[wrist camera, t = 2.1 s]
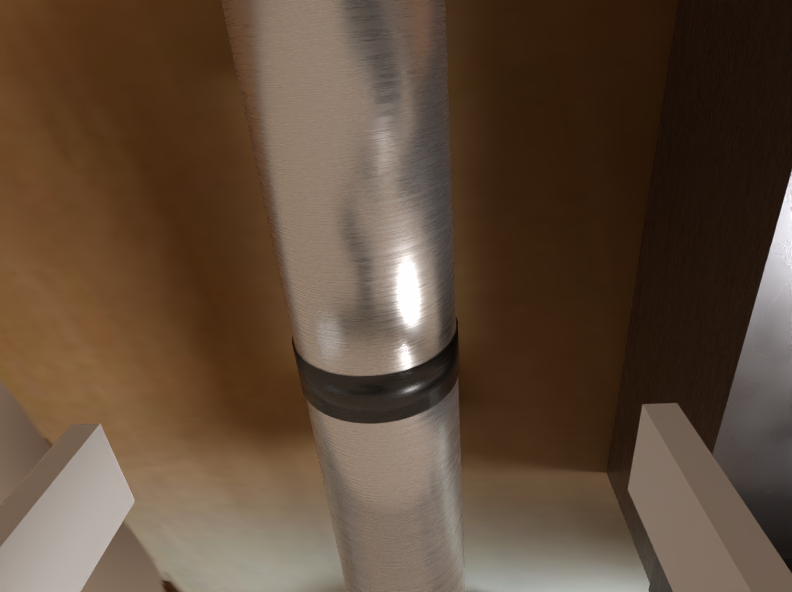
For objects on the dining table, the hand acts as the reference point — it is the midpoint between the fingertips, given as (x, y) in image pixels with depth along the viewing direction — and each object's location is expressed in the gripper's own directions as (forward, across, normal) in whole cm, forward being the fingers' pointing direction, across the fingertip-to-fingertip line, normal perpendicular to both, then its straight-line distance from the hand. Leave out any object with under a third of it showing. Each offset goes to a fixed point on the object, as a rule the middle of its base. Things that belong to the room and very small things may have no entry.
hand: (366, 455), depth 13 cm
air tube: (+7, 0, 0) cm, 7 cm away
